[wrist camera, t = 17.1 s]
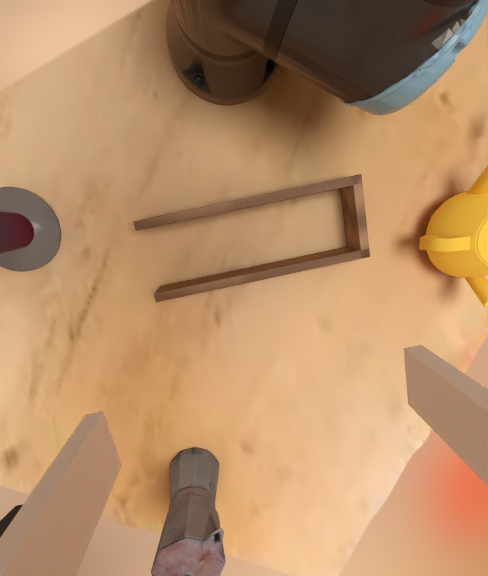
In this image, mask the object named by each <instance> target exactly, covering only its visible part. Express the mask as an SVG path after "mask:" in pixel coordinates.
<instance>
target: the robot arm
mask: <svg viewBox="0 0 488 576" xmlns="http://www.w3.org/2000/svg"><path fill="white" fill-rule="evenodd" d="M487 12H488V0H171V2H170V6H169V10H168V15H167V41H168V46H169V50H170V54H171V57H172V60H173V63H174V65H175V68H176V70H177V72H178V74H179V75H180V77H181V78H182V80H183V81H184V83H185V84H186V85H187V86H188V87H189V88H190V89H191V90H192V91H193V92H194V93H196V94H197V95H198V96H200V97H201V98H203V99H205V100H207V101H210V102H213V103H216V104H221V105H235V104H240V103H243V102H246V101H248V100H250V99H252V98H254V97H256V96H257V95H258V94H260V93H261V92H262V91H263V90H264V89H265V88H266V87H267V86H268V84H269V83H270V82H271V80H272V79H273V77H274V75H275V73H276V71H277V69H278V66H279V65H281V66H283V67H285V68H286V69H288V70H290V71H292V72H293V73H295V74H297V75H299V76H301V77H302V78H304V79H306V80H308V81H310V82H311V83H313V84H315V85H317V86H319V87H320V88H322V89H324V90H326V91H327V92H329V93H331V94H333V95H335V96H336V97H338V98H340V100H341V101H342V102H343V103H345V104H346V105H350V106H356V107H358V108H360V109H362V110H364V111H366V112H369V113H371V114H374V115H387V114H390V113H393V112H396V111H398V110H400V109H402V108H404V107H405V106H407V105H409V104H410V103H411V102H413V101H414V100H416V99H417V98H418V97H419V96H421V95H422V94H423V93H424V92H425V91H427V90H428V89H429V88H430V87H431V86H432V85H433V84H434V83H435V82H436V81H437V80H438V79H439V78H440V77H441V76H442V75H443V74H444V73H445V72H446V71H447V70H448V69H449V67H450V66H451V65H452V64H453V63H454V61H455V56H456V54H457V53H458V52H460V51H461V50H462V49H463V48H465V47H466V46H467V45H468V44H469V42H470V41H471V39H472V38H473V36H474V35H475V33H476V32H477V30H478V29H479V27H480V25H481V24H482V22H483V20H484V18H485V16H486V14H487ZM404 357H405V369H406V382H407V394H408V404H409V405H410V406H411V407H412V408H413V409H414V410H415V412H416V413H417V414H418V415H419V416H420V417H421V418H422V419H423V420H424V421H425V422H426V423H427V424H428V425H429V426H430V427H431V428H432V429H433V430H434V431H435V432H436V433H437V434H438V435H439V436H440V437H441V438H442V439H443V440H444V441H445V442H446V444H447V445H448V446H449V447H450V448H451V449H452V450H454V452H455V453H456V454H457V455H458V456H459V457H460V458H461V459H462V460H463V461H464V462H465V463H466V464H467V465H468V466H469V467H470V468H471V469H472V470H473V471H474V472H475V473H476V474H477V475H478V476H479V477H480V479H481V480H482V481H483V482H484V483H485V484H486V485H487V486H488V389H487V388H485V387H483V386H482V385H481V384H479V383H478V382H476V381H475V380H473V379H472V378H470V377H469V376H467V375H466V374H464V373H463V372H461V371H460V370H458V369H457V368H455V367H454V366H452V365H451V364H449V363H448V362H446V361H445V360H443V359H442V358H440V357H439V356H437V355H436V354H434V353H433V352H431V351H430V350H428V349H427V348H425V347H424V346H422V345H418V346H414V347H409V348H404ZM120 467H121V462H120V459H119V456H118V453H117V450H116V447H115V444H114V442H113V439H112V436H111V433H110V430H109V427H108V424H107V421H106V418H105V416H104V413H103V412H98V413H93V414H88V415H85V416H84V418H83V419H82V421H81V422H80V424H79V425H78V426H77V428H76V429H75V431H74V432H73V434H72V435H71V437H70V438H69V439H68V441H67V442H66V444H65V445H64V447H63V448H62V450H61V451H60V452H59V454H58V455H57V457H56V458H55V460H54V461H53V462H52V464H51V465H50V467H49V468H48V470H47V471H46V473H45V474H44V475H43V477H42V478H41V480H40V481H39V483H38V484H37V486H36V487H35V488H34V490H33V491H32V493H31V494H30V496H29V497H28V499H27V500H26V502H25V503H24V504H23V505H18V506H15V507H14V509H12V510H11V511H10V512H9V513H8V514H7V515H6V516H5V517H4V518H3V519H2V520H1V521H0V576H76V574H77V572H78V569H79V567H80V565H81V562H82V560H83V557H84V555H85V552H86V550H87V547H88V545H89V543H90V540H91V538H92V535H93V533H94V530H95V528H96V526H97V523H98V521H99V518H100V516H101V513H102V511H103V509H104V506H105V504H106V501H107V499H108V496H109V494H110V492H111V489H112V487H113V484H114V482H115V479H116V477H117V474H118V472H119V470H120Z"/></svg>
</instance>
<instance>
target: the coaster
mask: <svg viewBox="0 0 488 576" xmlns="http://www.w3.org/2000/svg"><path fill="white" fill-rule="evenodd" d="M0 212H10V213H18V214H21V215H23V216H25V217H26V218H27V219H28V220H29V221H30V222H31V224H32V226H33V228H34V238H33V240H32V242H31V243H30V244H29V245H28V246H26V247H23V248H19V249H16V250H12V251H8V252H5V253H1V254H0V266H1V267H3V268H6V269H9V270H13V271H31V270H34V269H38V268H40V267H42V266H44V265H46V264H47V263H48V262H50V261H51V260H52V259H53V257H54V256H55V255H56V253H57V251H58V249H59V246H60V241H61V229H60V225H59V221H58V219H57V216H56V215H55V213H54V211H53V210H52V208H51V207H50V206H49V205H48V204H47V203H46V202H45V201H44V200H43V199H42V198H41V197H39V196H38V195H36V194H34V193H32V192H30V191H28V190H25V189H21V188H14V187H3V188H0Z"/></svg>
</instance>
